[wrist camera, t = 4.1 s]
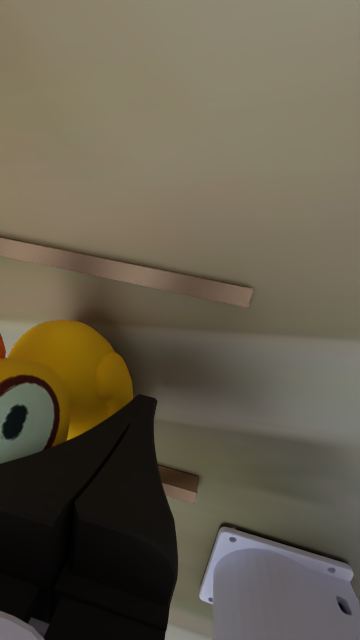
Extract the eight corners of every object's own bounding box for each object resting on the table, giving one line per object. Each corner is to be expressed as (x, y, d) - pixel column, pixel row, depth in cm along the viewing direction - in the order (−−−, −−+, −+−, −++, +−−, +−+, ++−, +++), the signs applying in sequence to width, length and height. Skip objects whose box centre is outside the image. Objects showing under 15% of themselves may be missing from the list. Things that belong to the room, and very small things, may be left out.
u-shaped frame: (249, 287, 12) (256, 290, 10) (195, 487, 16) (193, 516, 14) (-37, 229, 14) (-77, 223, 12) (-26, 422, 18) (-55, 441, 16)
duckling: (37, 289, 14) (-333, 329, 5) (111, 270, 13) (-165, 269, 4) (90, 437, 16) (-87, 678, 7) (157, 429, 15) (63, 704, 6)
